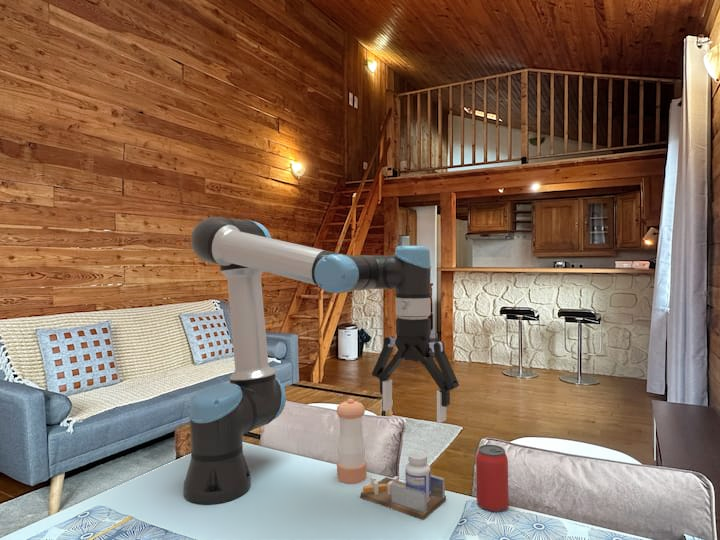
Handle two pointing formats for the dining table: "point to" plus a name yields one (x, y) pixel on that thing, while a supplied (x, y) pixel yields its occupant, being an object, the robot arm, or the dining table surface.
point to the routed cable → (379, 486)
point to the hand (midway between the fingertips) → (413, 415)
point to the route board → (387, 501)
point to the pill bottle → (418, 473)
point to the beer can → (492, 478)
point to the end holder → (417, 494)
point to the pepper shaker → (351, 443)
